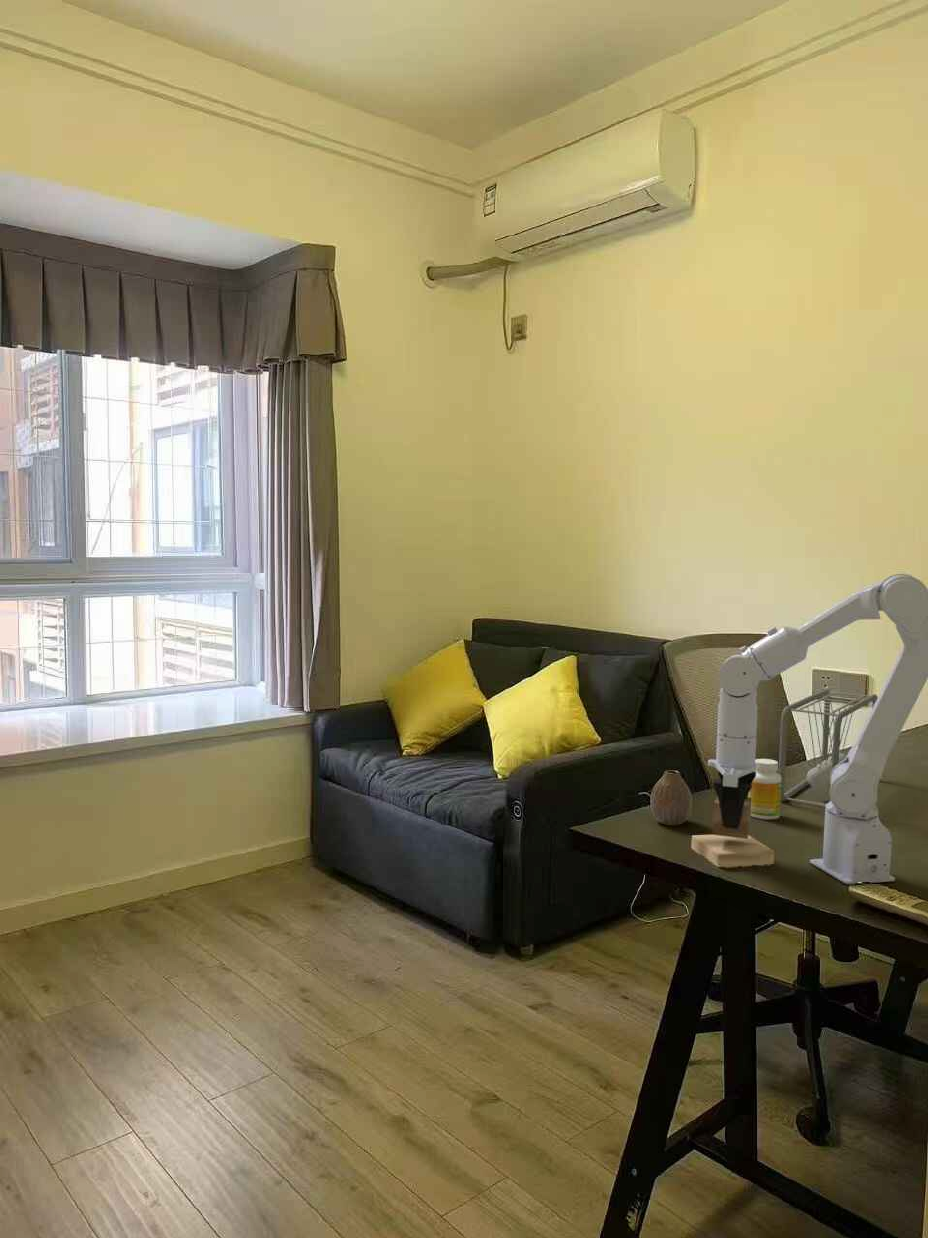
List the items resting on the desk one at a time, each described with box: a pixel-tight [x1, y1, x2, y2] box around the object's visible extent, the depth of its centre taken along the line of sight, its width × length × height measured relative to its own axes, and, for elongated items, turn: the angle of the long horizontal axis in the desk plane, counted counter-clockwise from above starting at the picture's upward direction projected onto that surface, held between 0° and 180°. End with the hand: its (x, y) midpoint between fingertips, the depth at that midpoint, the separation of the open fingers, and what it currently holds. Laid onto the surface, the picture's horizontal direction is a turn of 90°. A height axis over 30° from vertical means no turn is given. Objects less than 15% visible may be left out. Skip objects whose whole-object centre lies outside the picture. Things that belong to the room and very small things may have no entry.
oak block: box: [691, 833, 775, 868], centre depth 150 cm, size 9×9×2 cm
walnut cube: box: [712, 795, 752, 839], centre depth 150 cm, size 5×5×5 cm
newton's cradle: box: [778, 688, 878, 807], centre depth 189 cm, size 30×10×18 cm, turn 145°
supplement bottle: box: [748, 758, 782, 820], centre depth 172 cm, size 5×5×10 cm
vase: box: [649, 769, 693, 826], centre depth 167 cm, size 7×7×9 cm
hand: (732, 822), depth 150 cm, fingers closed on walnut cube, 5 cm apart
